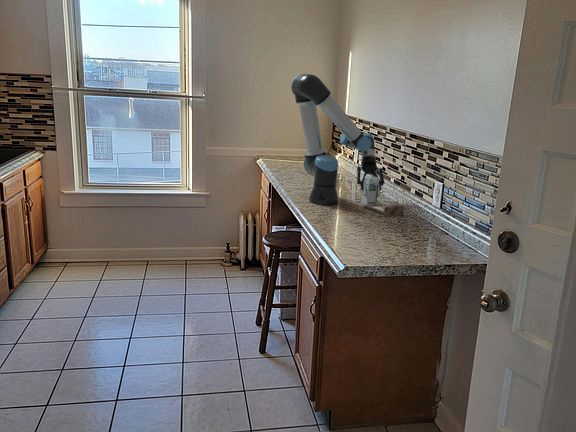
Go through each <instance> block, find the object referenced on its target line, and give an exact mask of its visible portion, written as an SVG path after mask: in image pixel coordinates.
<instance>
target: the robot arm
mask: <svg viewBox="0 0 576 432" xmlns="http://www.w3.org/2000/svg"><path fill="white" fill-rule="evenodd" d="M290 87H291V88H290V89H291V93H292V94H293V95H294V97H295V103H296V104H297V106H299V110H300V117H301V123H302V131H303V136H304V142H305V143H304V144H305V147H306V148H305V149H306V151H305V152H304V153H303V154H304V161H303V167H304V170H305V171H306V172H307V174H308V175H310V176H311V177H313V186H312V189H311V193H310V195H309V197H308V200H309V201H308V202H310V203H312V204H316V205H323V206H334V205H337V204H338V203H339V197H338V191H337V180H338V170H339V161H338V159H337V158H336V157H334V156H331V155H327V150H326V149H325V148H323V141H322V137H321V136H322V135H321V129H320V123H319V115H318V109H317V106H318V107H320V108H321V109H322V111H323V112H324V113H325V114H326V116H327V117H328V118H329V119H330V120H331V121H332V122H333V124H334V125H335V126H336V127H337V128H338V129H339V130H340V132H341V133H342V134H341V135H340V137H339V142H340V145H342V146H345V147H349V148H352V149H353V150H354V149H355V150H357V151H359V152H361V154H360V155H361V166H357V167H356V173H357V176H356V177H357V178H356V179H357V180H356V184H357V185H359V186H360V190H361V191H362V197H363V196H365V195H366V189H365V183H364V180H365V176H367V175H370V176H375V177H378V178H379V185H378V195H377V198H380V196H381V191H382V187H383V186H384V184H385V178H384V175H383V167H379V166H377V160H376V159H377V156H376V155H377V154H376V145H375V144H376V142H375V138H374V135H373V134H371V133H366V132H365V133H363V132H362V130H360V129H359V127H358V126H357V125H356V124H355V123H354V121H353V119H351V118H350V117H349V115H348V114H347V113H346V112H345V111H344V110H343V108H342V107H341V106H340V105H339V103H338V102H337V101H336V100H335V99H334V97H333V96H332V92H331V90H329V88H328V87H327V86H326V84H325V83H324V82H323V81H322V80H321V78H320V77H318V76H317V75H315V74H307V73H301V74H298V75H296V76H295V77H294V78H293V79H292V81H291V85H290ZM361 171H363V173H364V174H363V177H362V179H361V173H362V172H361ZM377 173H378V174H377Z"/></svg>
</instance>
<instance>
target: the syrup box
mask: <svg viewBox="0 0 576 432" xmlns="http://www.w3.org/2000/svg"><path fill="white" fill-rule="evenodd" d="M379 180H380V177H379V176H378V177H375V176H372V175H366V176H365V180H364V183H365V189H366V195H365V196H363V195H362V204H363V205H364V206H368V205H377V203H378V197H377V195H378V185H379ZM364 183H363V184H364Z"/></svg>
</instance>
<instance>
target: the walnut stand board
mask: <svg viewBox="0 0 576 432" xmlns="http://www.w3.org/2000/svg"><path fill="white" fill-rule="evenodd" d="M363 209H365V210H367V211H370V212H373V213H376V214H378V215H382V216H385V217H390V216H397V215H404V211H405V205H403V204H400V205H393V206H388V205H386V204H382V203H381V204H380V203H379V204H377V205H363Z"/></svg>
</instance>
